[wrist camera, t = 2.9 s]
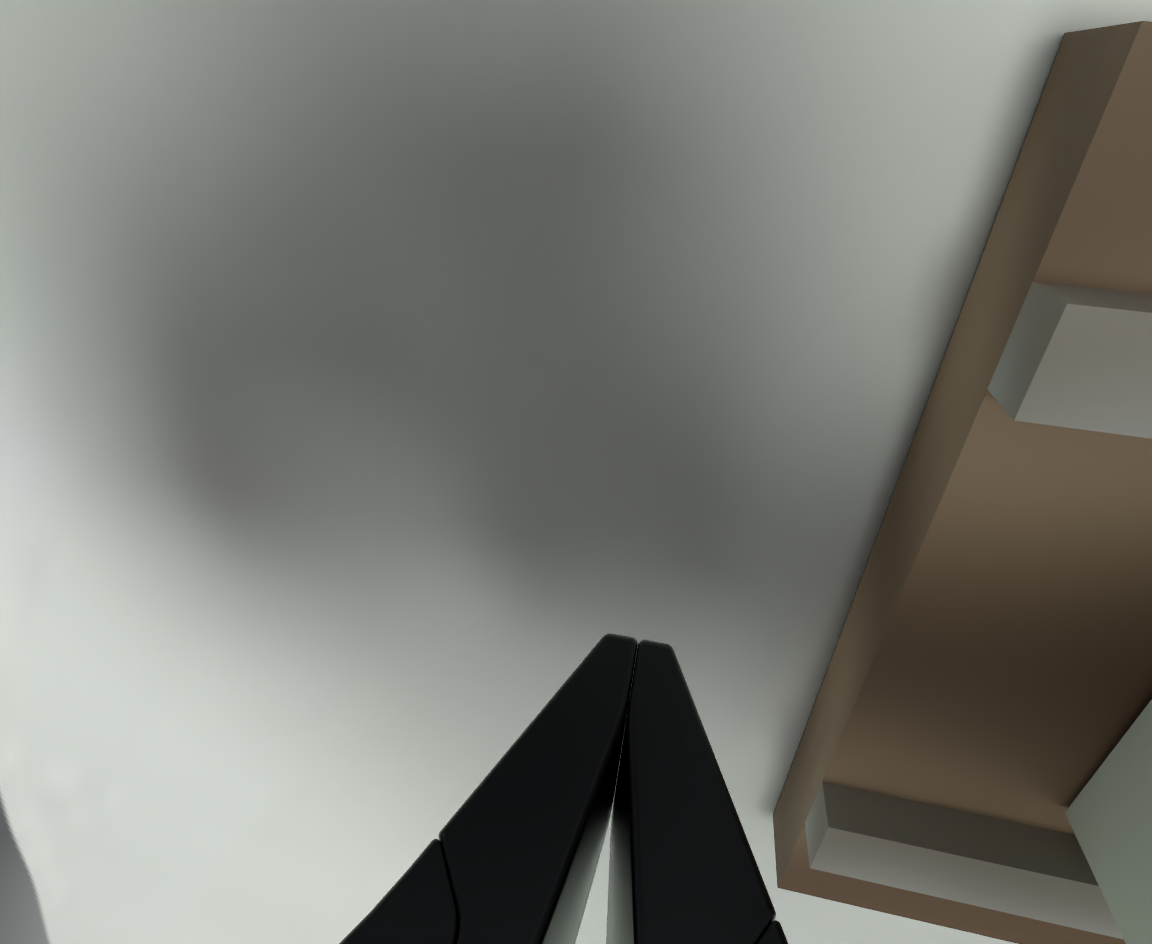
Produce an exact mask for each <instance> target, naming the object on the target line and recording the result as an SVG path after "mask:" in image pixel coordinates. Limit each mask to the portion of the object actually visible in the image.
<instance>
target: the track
mask: <svg viewBox="0 0 1152 944" xmlns="http://www.w3.org/2000/svg"><path fill="white" fill-rule="evenodd" d="M1151 700H1152V22H1146V21H1141V22H1134V23H1128V24H1121V25H1115V26H1108V27H1102V28H1095V29H1089V30H1082V31H1076V32H1069V33H1065V35H1064V37H1063V40H1062V43H1061V45H1060V48H1059V51H1058V53H1057V56H1056V59H1055V61H1054V64H1053V67H1052V69H1051V72H1050V75H1049V77H1048V80H1047V83H1046V85H1045V88H1044V91H1043V93H1042V96H1041V99H1040V102H1039V104H1038V107H1037V110H1036V112H1035V115H1034V118H1033V120H1032V123H1031V126H1030V128H1029V131H1028V134H1027V136H1026V139H1025V142H1024V144H1023V147H1022V150H1021V152H1020V155H1019V158H1018V160H1017V163H1016V166H1015V168H1014V171H1013V174H1012V177H1011V179H1010V182H1009V185H1008V187H1007V190H1006V193H1005V195H1004V198H1003V201H1002V203H1001V206H1000V209H999V211H998V214H997V217H996V219H995V222H994V225H993V227H992V230H991V233H990V235H989V238H988V241H987V243H986V246H985V249H984V252H983V254H982V257H981V260H980V262H979V265H978V268H977V270H976V273H975V276H974V278H973V281H972V284H971V286H970V289H969V292H968V294H967V297H966V300H965V302H964V305H963V308H962V310H961V313H960V316H959V318H958V321H957V324H956V327H955V329H954V332H953V335H952V337H951V340H950V343H949V345H948V348H947V351H946V353H945V356H944V359H943V361H942V364H941V367H940V369H939V372H938V375H937V377H936V380H935V383H934V385H933V388H932V391H931V393H930V396H929V399H928V402H927V404H926V407H925V410H924V412H923V415H922V418H921V420H920V423H919V426H918V428H917V431H916V434H915V436H914V439H913V442H912V444H911V447H910V450H909V452H908V455H907V458H906V460H905V463H904V466H903V468H902V471H901V474H900V476H899V479H898V482H897V485H896V487H895V490H894V493H893V495H892V498H891V501H890V503H889V506H888V509H887V511H886V514H885V517H884V519H883V522H882V525H881V527H880V530H879V533H878V535H877V538H876V541H875V543H874V546H873V549H872V551H871V554H870V557H869V560H868V562H867V565H866V568H865V570H864V573H863V576H862V578H861V581H860V584H859V586H858V589H857V592H856V594H855V597H854V600H853V602H852V605H851V608H850V610H849V613H848V616H847V618H846V621H845V624H844V626H843V629H842V632H841V635H840V637H839V640H838V643H837V645H836V648H835V651H834V653H833V656H832V659H831V661H830V664H829V667H828V669H827V672H826V675H825V677H824V680H823V683H822V685H821V688H820V691H819V693H818V696H817V699H816V701H815V704H814V707H813V710H812V712H811V715H810V718H809V720H808V723H807V726H806V728H805V731H804V734H803V736H802V739H801V742H800V744H799V747H798V750H797V752H796V755H795V758H794V760H793V763H792V766H791V768H790V771H789V774H788V776H787V779H786V782H785V785H784V787H783V790H782V793H781V795H780V798H779V801H778V803H777V806H776V809H775V811H774V814H773V823H774V839H775V854H776V870H777V886H778V888H782V889H786V890H790V891H794V892H799V893H803V894H807V895H812V896H816V897H820V898H825V899H829V900H833V901H837V902H842V903H846V904H850V905H855V906H859V907H863V908H867V909H872V910H876V911H880V912H885V913H889V914H893V915H898V916H902V917H906V918H910V919H915V920H919V921H923V922H928V923H932V924H936V925H941V926H945V927H949V928H953V929H958V930H962V931H966V932H971V933H975V934H979V935H983V936H988V937H992V938H996V939H1001V940H1005V941H1009V942H1014V943H1018V944H1126V943H1125V941H1124V939H1123V936H1122V934H1121V932H1120V930H1119V928H1118V926H1117V924H1116V921H1115V919H1114V917H1113V915H1112V913H1111V911H1110V909H1109V906H1108V904H1107V902H1106V900H1105V898H1104V896H1103V894H1102V891H1101V889H1100V887H1099V885H1098V883H1097V881H1096V879H1095V876H1094V874H1093V872H1092V870H1091V868H1090V866H1089V863H1088V861H1087V859H1086V857H1085V855H1084V853H1083V851H1082V848H1081V846H1080V844H1079V842H1078V840H1077V838H1076V836H1075V833H1074V831H1073V829H1072V827H1071V825H1070V823H1069V821H1068V818H1067V816H1066V814H1065V812H1066V810H1067V809H1068V808H1069V807H1070V805H1071V804H1072V803H1073V801H1074V800H1075V799H1076V797H1077V796H1078V795H1079V794H1080V792H1081V791H1082V790H1083V788H1084V787H1085V786H1086V784H1087V783H1088V782H1089V780H1090V779H1091V778H1092V777H1093V775H1094V774H1095V773H1096V771H1097V770H1098V769H1099V767H1100V766H1101V765H1102V764H1103V762H1104V761H1105V760H1106V758H1107V757H1108V756H1109V754H1110V753H1111V752H1112V750H1113V749H1114V748H1115V747H1116V745H1117V744H1118V743H1119V741H1120V740H1121V739H1122V737H1123V736H1124V735H1125V734H1126V732H1127V731H1128V730H1129V728H1130V727H1131V726H1132V724H1133V723H1134V722H1135V720H1136V719H1137V718H1138V717H1139V715H1140V714H1141V713H1142V711H1143V710H1144V709H1145V707H1146V706H1147V705H1148V704H1149V702H1150V701H1151Z"/></svg>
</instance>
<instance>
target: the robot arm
mask: <svg viewBox="0 0 1152 944" xmlns="http://www.w3.org/2000/svg"><path fill="white" fill-rule="evenodd" d="M637 646H638V648H637ZM636 652H637V655H636ZM635 659H636V661H635ZM634 665H635V667H634ZM633 672H634V674H633ZM632 679H633V680H632ZM631 685H632V686H631ZM630 691H631V692H630ZM629 698H630V699H629ZM628 704H629V705H628ZM626 717H627V718H626ZM625 723H626V724H625ZM624 730H625V731H624ZM623 736H624V737H623ZM622 742H623V744H622ZM621 749H622V750H621ZM620 755H621V757H620ZM619 761H620V764H619ZM618 768H619V770H618ZM617 774H618V777H617ZM616 780H617V783H616ZM615 787H616V790H615ZM614 793H615V796H614ZM613 799H614V804H613ZM612 804H613V812H612V822H611V836H610V861H609V887H608V913H607V938H606V944H788V942H787V940H786V937H785V934H784V932H783V929H782V927H781V924H780V923H779V922H778V921H776V920H774V919H775V916H776V912H775V910H774V907H773V905H772V902H771V899H770V897H769V894H768V892H767V889H766V887H765V884H764V881H763V879H762V876H761V874H760V871H759V869H758V866H757V863H756V861H755V858H754V856H753V853H752V851H751V848H750V845H749V843H748V840H747V838H746V835H745V833H744V830H743V827H742V825H741V822H740V820H739V817H738V815H737V812H736V809H735V807H734V804H733V802H732V799H731V797H730V794H729V791H728V789H727V786H726V784H725V781H724V779H723V776H722V773H721V771H720V768H719V766H718V763H717V761H716V758H715V755H714V753H713V750H712V748H711V745H710V743H709V740H708V737H707V735H706V732H705V730H704V727H703V725H702V722H701V719H700V717H699V714H698V712H697V709H696V707H695V704H694V701H693V699H692V696H691V694H690V691H689V689H688V686H687V683H686V681H685V678H684V676H683V673H682V671H681V668H680V665H679V663H678V660H677V658H676V655H675V653H674V650H673V649H672V647H671V646H670V645H668V644H664V643H658V642H653V641H648V640H642V641H640V642H639V644H638V643H637V640H636V639H635V638H632V637H627V636H621V635H616V634H606V635H605V636H604V637H603V638H602V639H601V640H600V641H599V642H598V643H597V645H596V646H595V647H594V648H593V649H592V651H591V652H590V653H589V654H588V655H587V657H586V658H585V659H584V660H583V661H582V663H581V664H580V665H579V666H578V667H577V669H576V670H575V671H574V672H573V673H572V675H571V676H570V677H569V678H568V679H567V681H566V682H565V683H564V684H563V685H562V687H561V688H560V689H559V690H558V691H557V693H556V694H555V695H554V696H553V697H552V699H551V700H550V701H549V702H548V703H547V705H546V706H545V707H544V708H543V709H542V710H541V712H540V713H539V714H538V715H537V716H536V718H535V719H534V720H533V721H532V722H531V724H530V725H529V726H528V727H527V728H526V730H525V731H524V732H523V733H522V734H521V736H520V737H519V738H518V739H517V740H516V742H515V743H514V744H513V745H512V746H511V748H510V749H509V750H508V751H507V752H506V754H505V755H504V756H503V757H502V758H501V760H500V761H499V762H498V763H497V764H496V766H495V767H494V768H493V769H492V770H491V772H490V773H489V774H488V775H487V776H486V777H485V779H484V780H483V781H482V782H481V783H480V785H479V786H478V787H477V788H476V789H475V791H474V792H473V793H472V794H471V795H470V797H469V798H468V799H467V800H466V801H465V803H464V804H463V805H462V806H461V807H460V809H459V810H458V811H457V812H456V813H455V815H454V816H453V817H452V818H451V819H450V821H449V822H448V823H447V824H446V825H445V827H444V828H443V829H442V830H441V831H440V833H439V840H438V839H434V840H432V842H431V843H430V844H429V845H428V846H427V848H426V849H425V850H424V851H423V852H422V854H421V855H420V856H419V857H418V858H417V860H416V861H415V862H414V863H413V864H412V866H411V867H410V868H409V869H408V870H407V871H406V872H405V874H404V875H403V876H402V877H401V878H400V879H399V880H398V881H397V883H396V884H395V885H394V886H393V887H392V888H391V889H390V891H389V892H388V893H387V894H386V895H385V896H384V897H383V898H382V900H381V901H380V902H379V903H378V904H377V905H376V906H375V907H374V909H373V910H372V911H371V912H370V913H369V914H368V915H367V916H366V917H365V918H364V919H363V920H362V921H361V922H360V923H359V924H358V925H357V926H356V927H355V928H354V929H353V930H352V931H351V932H350V933H349V934H348V935H347V936H346V937H345V938H344V939H343V940H342V941H341V942H340V943H339V944H575V942H576V938H577V935H578V931H579V928H580V924H581V921H582V917H583V914H584V910H585V907H586V903H587V899H588V896H589V892H590V889H591V885H592V882H593V878H594V875H595V871H596V868H597V864H598V860H599V857H600V853H601V850H602V846H603V843H604V839H605V835H606V831H607V827H608V823H609V819H610V815H611V810H612Z"/></svg>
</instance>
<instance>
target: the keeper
mask: <svg viewBox="0 0 1152 944" xmlns="http://www.w3.org/2000/svg"><path fill="white" fill-rule="evenodd" d="M1065 814H1066V816H1067V818H1068V821H1069V823H1070V825H1071V827H1072V829H1073V831H1074V833H1075V836H1076V838H1077V840H1078V842H1079V844H1080V846H1081V848H1082V851H1083V853H1084V855H1085V857H1086V859H1087V861H1088V863H1089V866H1090V868H1091V870H1092V872H1093V874H1094V876H1095V879H1096V881H1097V883H1098V885H1099V887H1100V889H1101V891H1102V894H1103V896H1104V898H1105V900H1106V902H1107V904H1108V906H1109V909H1110V911H1111V913H1112V915H1113V917H1114V919H1115V921H1116V924H1117V926H1118V928H1119V930H1120V932H1121V934H1122V936H1123V939H1124V941H1125V943H1126V944H1152V700H1151V701H1150V702H1149V704H1148V705H1147V706H1146V707H1145V709H1144V710H1143V711H1142V713H1141V714H1140V715H1139V717H1138V718H1137V719H1136V720H1135V722H1134V723H1133V724H1132V726H1131V727H1130V728H1129V730H1128V731H1127V732H1126V734H1125V735H1124V736H1123V737H1122V739H1121V740H1120V741H1119V743H1118V744H1117V745H1116V747H1115V748H1114V749H1113V750H1112V752H1111V753H1110V754H1109V756H1108V757H1107V758H1106V760H1105V761H1104V762H1103V764H1102V765H1101V766H1100V767H1099V769H1098V770H1097V771H1096V773H1095V774H1094V775H1093V777H1092V778H1091V779H1090V780H1089V782H1088V783H1087V784H1086V786H1085V787H1084V788H1083V790H1082V791H1081V792H1080V794H1079V795H1078V796H1077V797H1076V799H1075V800H1074V801H1073V803H1072V804H1071V805H1070V807H1069V808H1068V809H1067V810H1066V812H1065Z"/></svg>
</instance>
